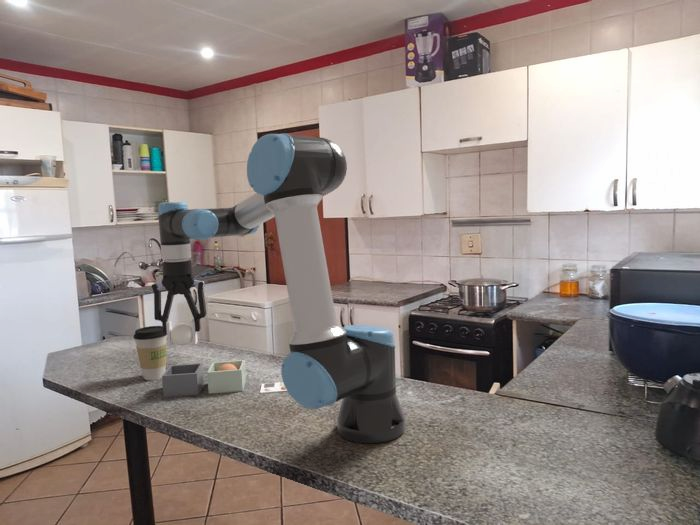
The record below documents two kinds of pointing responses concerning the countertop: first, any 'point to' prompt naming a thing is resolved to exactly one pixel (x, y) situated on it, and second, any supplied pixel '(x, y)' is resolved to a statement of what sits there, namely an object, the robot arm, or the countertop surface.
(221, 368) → the ball terracotta
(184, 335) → the ball white
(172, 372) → the grey open cubby box
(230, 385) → the sage open box
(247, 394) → the countertop surface
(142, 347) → the coffee cup
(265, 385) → the card
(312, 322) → the robot arm
